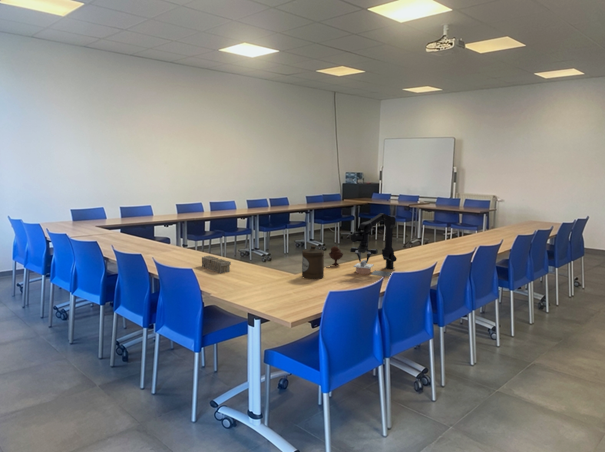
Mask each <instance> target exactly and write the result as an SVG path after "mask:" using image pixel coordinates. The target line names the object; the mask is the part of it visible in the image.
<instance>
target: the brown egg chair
mask: <svg viewBox="0 0 605 452" xmlns="http://www.w3.org/2000/svg"><path fill="white" fill-rule="evenodd" d="M341 251H342V250H341V249H340V248H339V247H338V246H336V245H333V246H332V247H331V248H330V252H328V255H329V258H331V259H332V260H333V261H334V263H332V266H334V267H337V266H336V265H339V266H340V264H339V263H338V261H339V260H340V259H342V258H343V256H344V253H343V252H341Z"/></svg>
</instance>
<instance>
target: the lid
mask: <svg viewBox="0 0 605 452" xmlns="http://www.w3.org/2000/svg"><path fill="white" fill-rule="evenodd" d="M366 261H367V259H362V260H361V262H358V263H355V264H354V265H353V266H352V267H353V268H356V267H358V268H369V269H370V268H372V267H374V264H373V263H372V264H371V263H368V262H367V263H366Z"/></svg>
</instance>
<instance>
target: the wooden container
mask: <svg viewBox="0 0 605 452" xmlns="http://www.w3.org/2000/svg"><path fill="white" fill-rule="evenodd" d="M301 253H302V259H301V260H302V261H301V277H302V278H303V277H304V279H307V280H320V279H323V278H324V277H325V276H324V274H325V273H324V272H325V268H324V267H325V266H324V265H325V263H324V260H325V259H324V257H325V256H324V254H325V252H324V250H323V249H317V248H316V245H315V244H312V245H311V246H310V248H307V249H306V248H305V249H303V250H302V252H301Z"/></svg>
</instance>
